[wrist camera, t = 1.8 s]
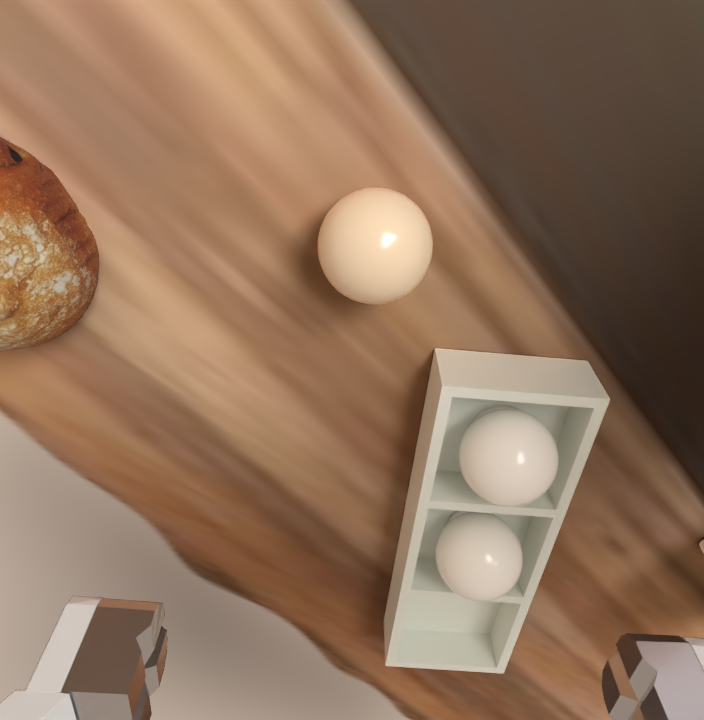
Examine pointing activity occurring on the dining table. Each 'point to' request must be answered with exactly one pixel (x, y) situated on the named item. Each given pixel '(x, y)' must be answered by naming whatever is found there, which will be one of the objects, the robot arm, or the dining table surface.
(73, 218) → the bread roll
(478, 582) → the white egg
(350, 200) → the tan egg
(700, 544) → the medicine bottle
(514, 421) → the white egg
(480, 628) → the egg carton
